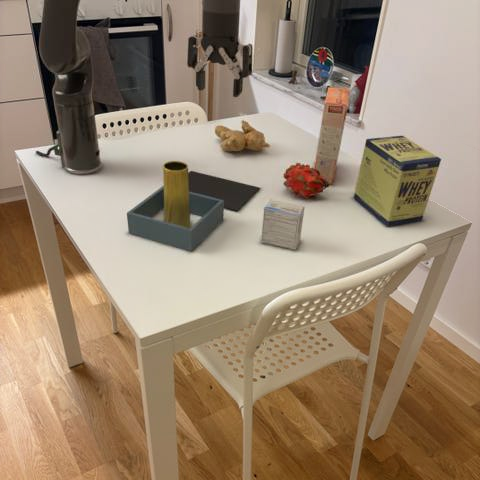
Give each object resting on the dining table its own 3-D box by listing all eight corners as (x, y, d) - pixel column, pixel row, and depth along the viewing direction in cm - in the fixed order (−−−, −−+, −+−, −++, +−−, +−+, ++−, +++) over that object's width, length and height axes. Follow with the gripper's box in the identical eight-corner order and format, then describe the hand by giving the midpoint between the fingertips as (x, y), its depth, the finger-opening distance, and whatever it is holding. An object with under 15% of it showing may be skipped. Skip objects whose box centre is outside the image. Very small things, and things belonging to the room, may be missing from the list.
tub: (128, 233, 113) (126, 212, 109) (165, 204, 124) (164, 184, 120) (191, 251, 108) (191, 231, 105) (223, 220, 119) (224, 200, 116)
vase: (164, 219, 118) (161, 159, 109) (190, 219, 118) (190, 160, 109) (163, 233, 113) (160, 171, 104) (191, 233, 114) (190, 172, 105)
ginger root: (271, 156, 146) (266, 128, 141) (216, 166, 148) (210, 139, 143) (269, 138, 158) (265, 111, 153) (219, 147, 160) (213, 121, 155)
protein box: (387, 227, 121) (404, 163, 111) (352, 198, 131) (364, 137, 121) (423, 221, 124) (443, 159, 114) (386, 193, 135) (401, 133, 125)
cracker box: (333, 186, 136) (348, 104, 123) (311, 182, 137) (323, 101, 124) (336, 165, 147) (350, 88, 134) (315, 162, 148) (327, 85, 134)
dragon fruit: (278, 193, 135) (321, 209, 133) (274, 186, 127) (319, 203, 125) (291, 162, 134) (334, 177, 132) (287, 153, 126) (333, 169, 124)
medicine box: (300, 241, 114) (305, 205, 108) (295, 251, 110) (300, 215, 105) (266, 233, 115) (269, 198, 110) (260, 243, 112) (263, 207, 107)
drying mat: (164, 192, 128) (164, 190, 128) (191, 172, 138) (191, 170, 138) (237, 211, 123) (237, 210, 122) (259, 189, 133) (259, 187, 132)
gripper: (261, 10, 104) (254, 94, 114) (198, 1, 107) (197, 83, 118) (246, 15, 98) (241, 103, 109) (180, 5, 102) (181, 91, 112)
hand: (218, 92), depth 113 cm, fingers open, 8 cm apart
